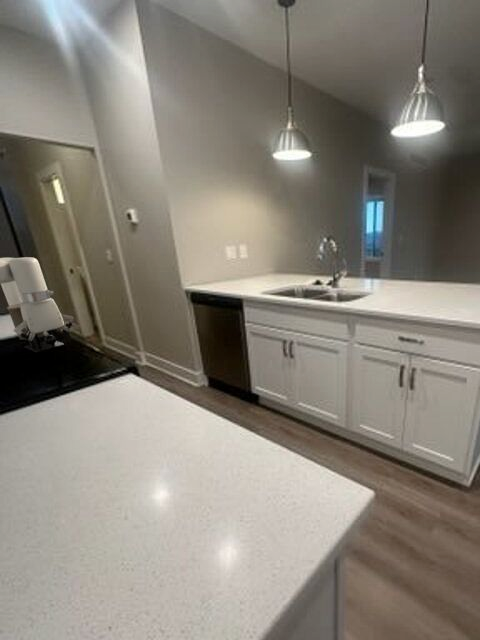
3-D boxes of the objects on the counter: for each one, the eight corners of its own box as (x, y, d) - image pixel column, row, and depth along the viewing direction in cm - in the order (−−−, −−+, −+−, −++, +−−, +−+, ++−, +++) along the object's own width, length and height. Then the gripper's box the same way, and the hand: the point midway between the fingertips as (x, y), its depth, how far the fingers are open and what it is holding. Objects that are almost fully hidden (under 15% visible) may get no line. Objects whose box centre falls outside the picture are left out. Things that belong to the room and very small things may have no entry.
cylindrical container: (41, 329, 149) (20, 270, 140) (40, 333, 144) (18, 272, 134) (21, 332, 146) (-2, 272, 136) (19, 336, 140) (-5, 274, 131)
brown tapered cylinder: (52, 337, 137) (39, 300, 131) (22, 344, 130) (7, 305, 125) (47, 333, 143) (34, 297, 137) (18, 339, 137) (3, 302, 131)
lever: (58, 344, 120) (57, 338, 118) (47, 347, 118) (47, 340, 116) (39, 321, 123) (38, 314, 121) (29, 323, 121) (28, 316, 119)
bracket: (65, 347, 125) (55, 315, 120) (37, 355, 118) (24, 322, 113) (52, 341, 131) (42, 311, 127) (25, 349, 125) (13, 317, 120)
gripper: (60, 291, 120) (75, 337, 127) (-1, 301, 108) (19, 352, 114) (69, 292, 116) (84, 340, 123) (7, 303, 104) (27, 356, 110)
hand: (52, 346), depth 119 cm, fingers open, 9 cm apart
